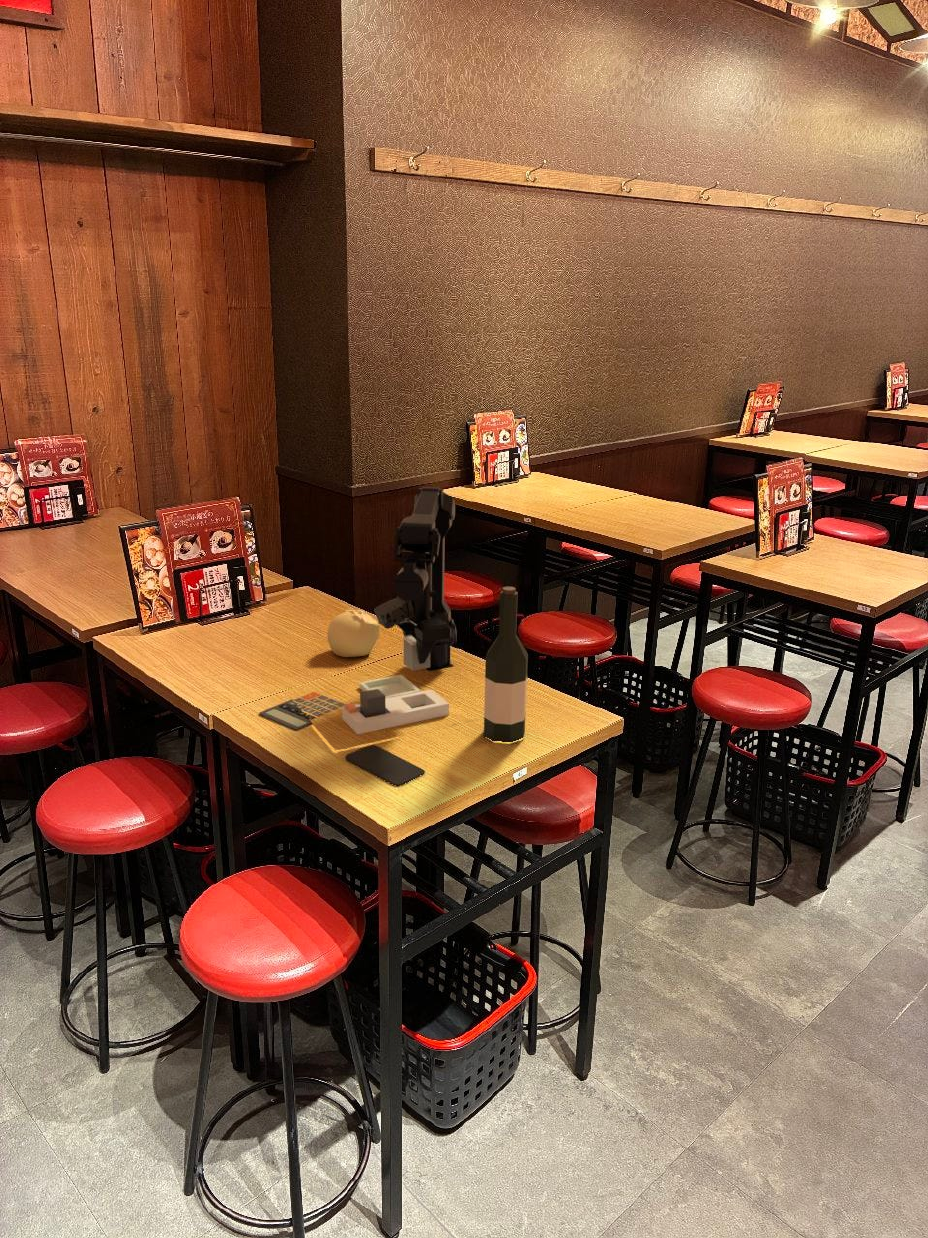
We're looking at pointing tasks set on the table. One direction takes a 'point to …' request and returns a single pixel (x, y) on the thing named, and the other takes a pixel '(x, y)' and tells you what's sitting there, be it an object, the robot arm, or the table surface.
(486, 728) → the wine bottle
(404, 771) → the phone
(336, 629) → the beige round lump
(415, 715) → the power strip
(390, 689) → the tray
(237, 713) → the table surface
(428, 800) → the table surface
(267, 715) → the calculator
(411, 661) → the plug
